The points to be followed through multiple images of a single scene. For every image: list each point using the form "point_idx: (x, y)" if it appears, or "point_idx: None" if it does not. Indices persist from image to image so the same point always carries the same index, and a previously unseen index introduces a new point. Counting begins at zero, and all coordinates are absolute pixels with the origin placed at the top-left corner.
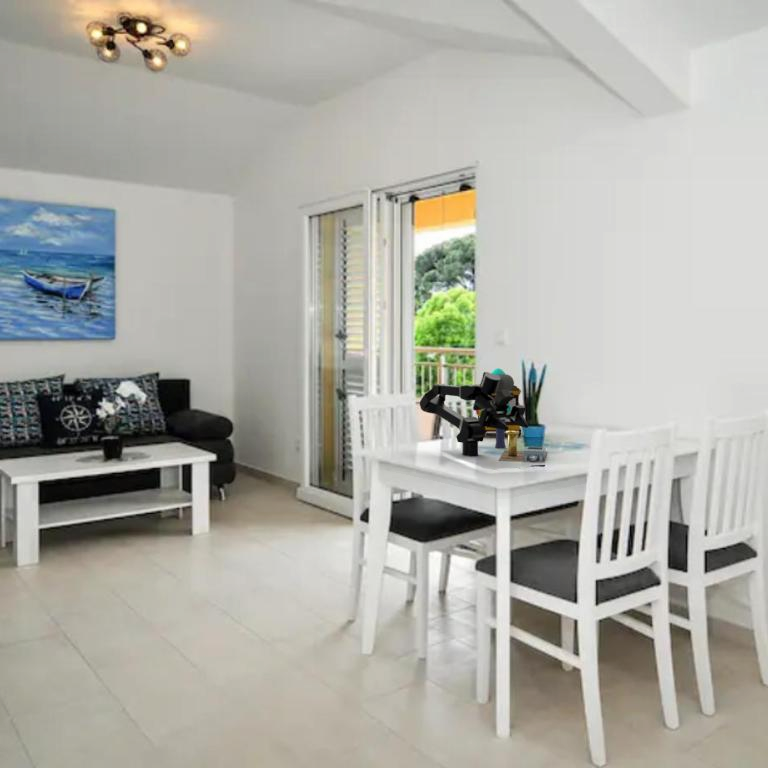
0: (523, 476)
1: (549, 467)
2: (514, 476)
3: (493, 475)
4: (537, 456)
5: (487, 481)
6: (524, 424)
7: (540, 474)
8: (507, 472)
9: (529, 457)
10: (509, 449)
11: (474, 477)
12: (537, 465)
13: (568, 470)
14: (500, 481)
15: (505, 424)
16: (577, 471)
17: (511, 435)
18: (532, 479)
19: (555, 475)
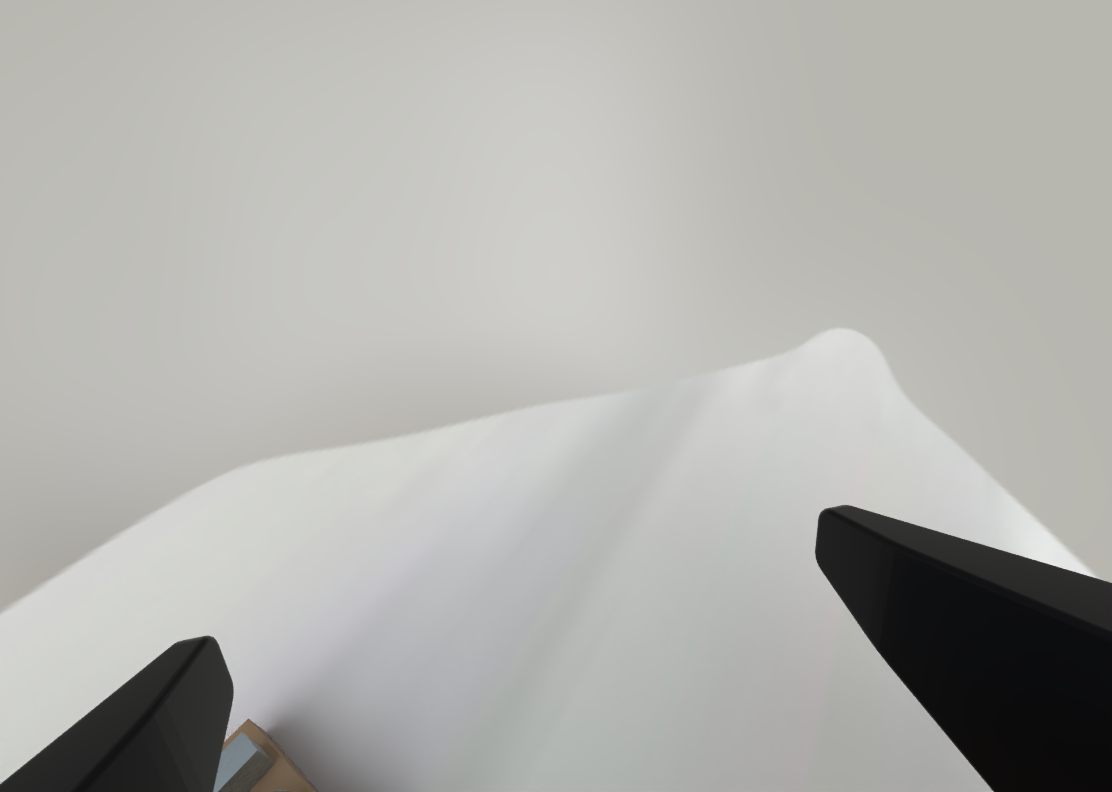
0: (671, 462)
1: (252, 690)
2: (729, 480)
3: None
4: None
5: (933, 423)
6: (176, 761)
7: (534, 475)
8: (731, 620)
9: None
10: None
11: (1029, 542)
12: (305, 780)
13: (257, 519)
14: (854, 402)
15: (922, 544)
16: (245, 472)
17: None
18: (658, 389)
19: (470, 425)
